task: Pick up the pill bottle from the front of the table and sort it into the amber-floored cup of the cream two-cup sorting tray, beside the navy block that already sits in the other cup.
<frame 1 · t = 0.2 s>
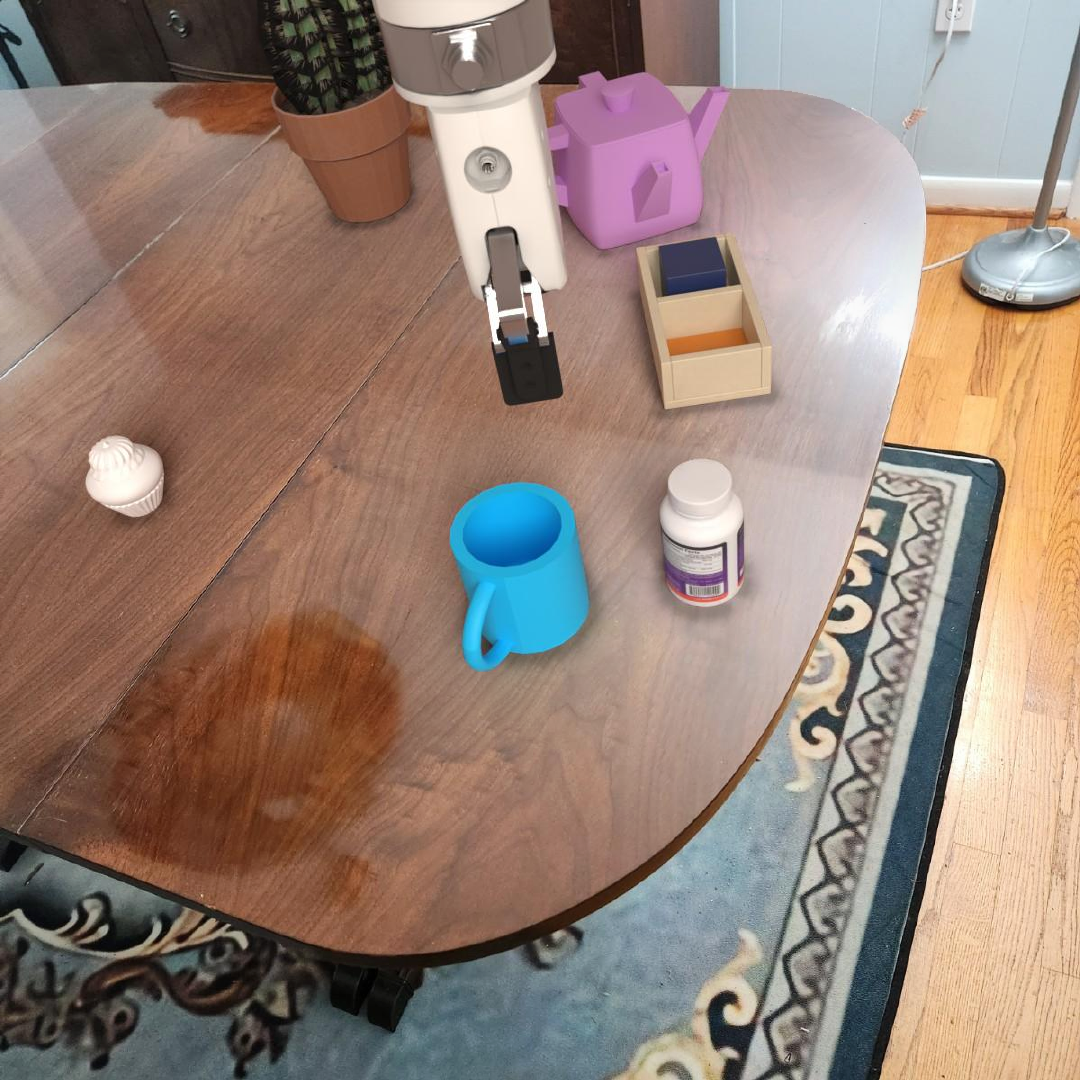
hand: (529, 343, 57), 20 cm above the table, tool pointing down, fingers open, 9 cm apart
sorter: (701, 340, 87), on the table
potted plant: (372, 203, 111), on the table
muffin: (144, 505, 84), on the table
mug: (520, 628, 69), on the table
navy block: (693, 305, 89), point 1 cm above the table, touching sorter
teakettle: (635, 208, 102), on the table
pill bottle: (704, 580, 70), on the table
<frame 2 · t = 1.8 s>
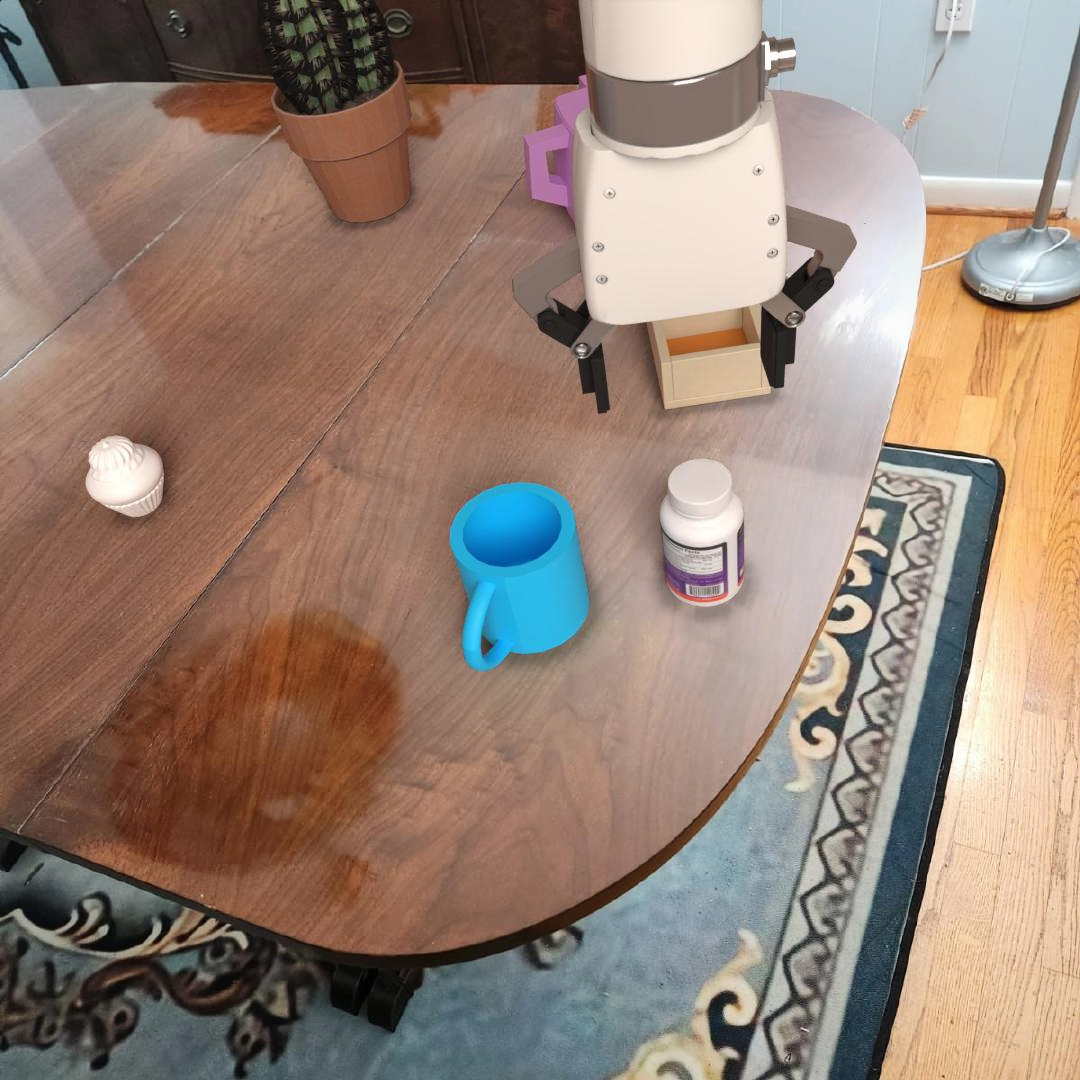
hand: (686, 385, 57), 17 cm above the table, tool pointing down, fingers open, 9 cm apart
nothing on the table moved.
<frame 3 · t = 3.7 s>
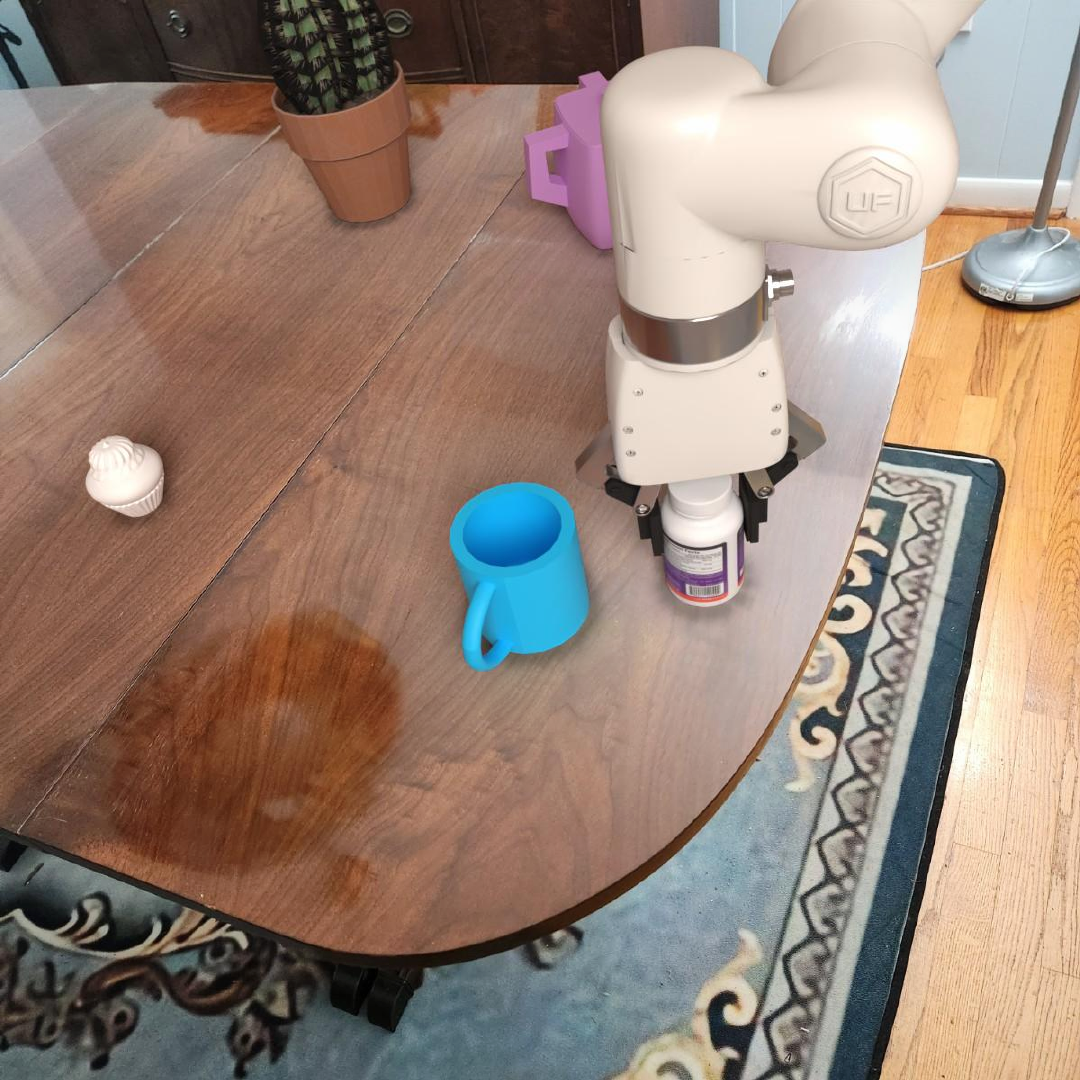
hand: (702, 531, 66), 5 cm above the table, tool pointing down, fingers closed on pill bottle, 5 cm apart
pill bottle: (704, 580, 70), on the table, touching gripper
everything else where it was.
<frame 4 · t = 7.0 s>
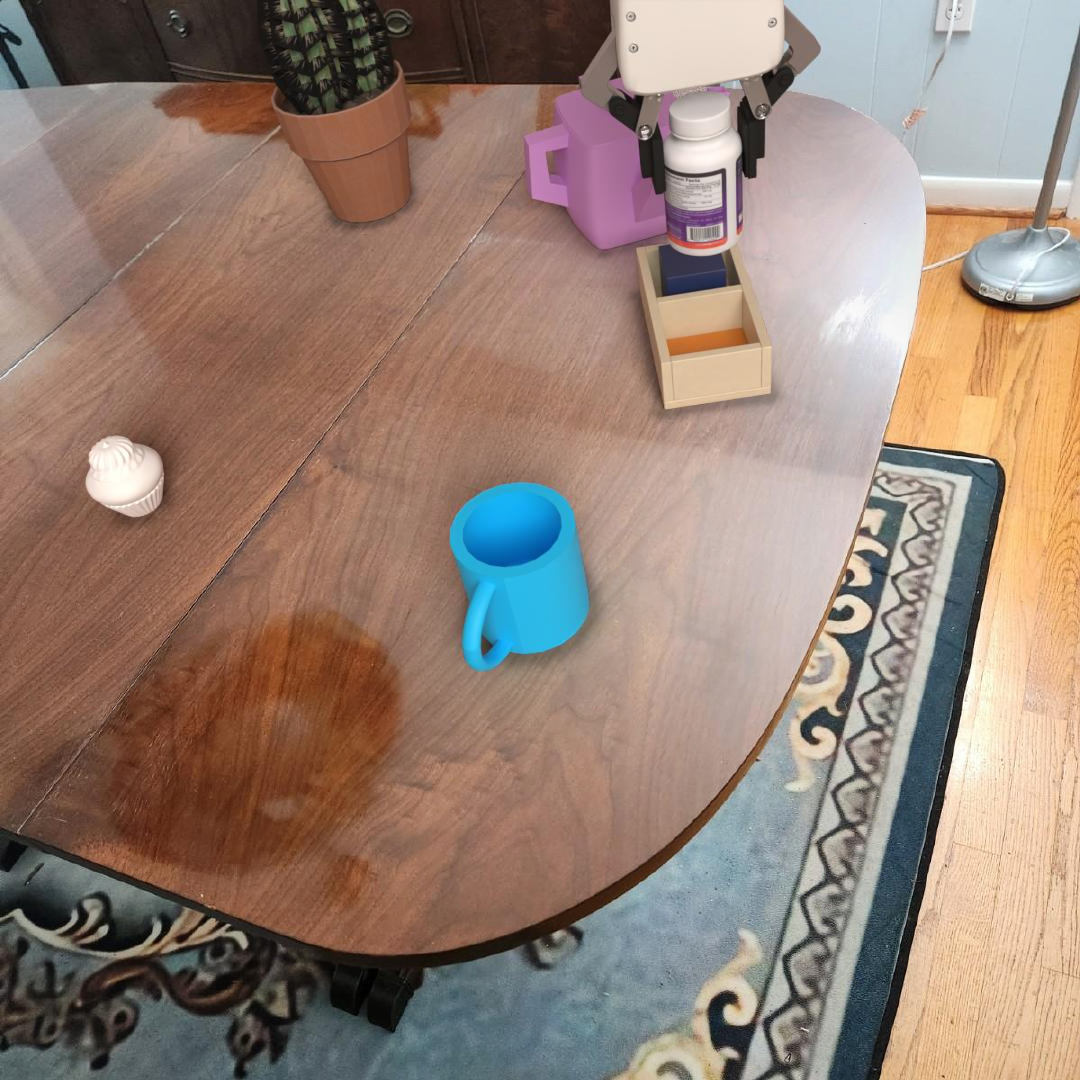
hand: (702, 174, 69), 19 cm above the table, tool pointing down, fingers closed on pill bottle, 5 cm apart
pill bottle: (704, 239, 72), point 14 cm above the table, touching gripper
everything else where it was.
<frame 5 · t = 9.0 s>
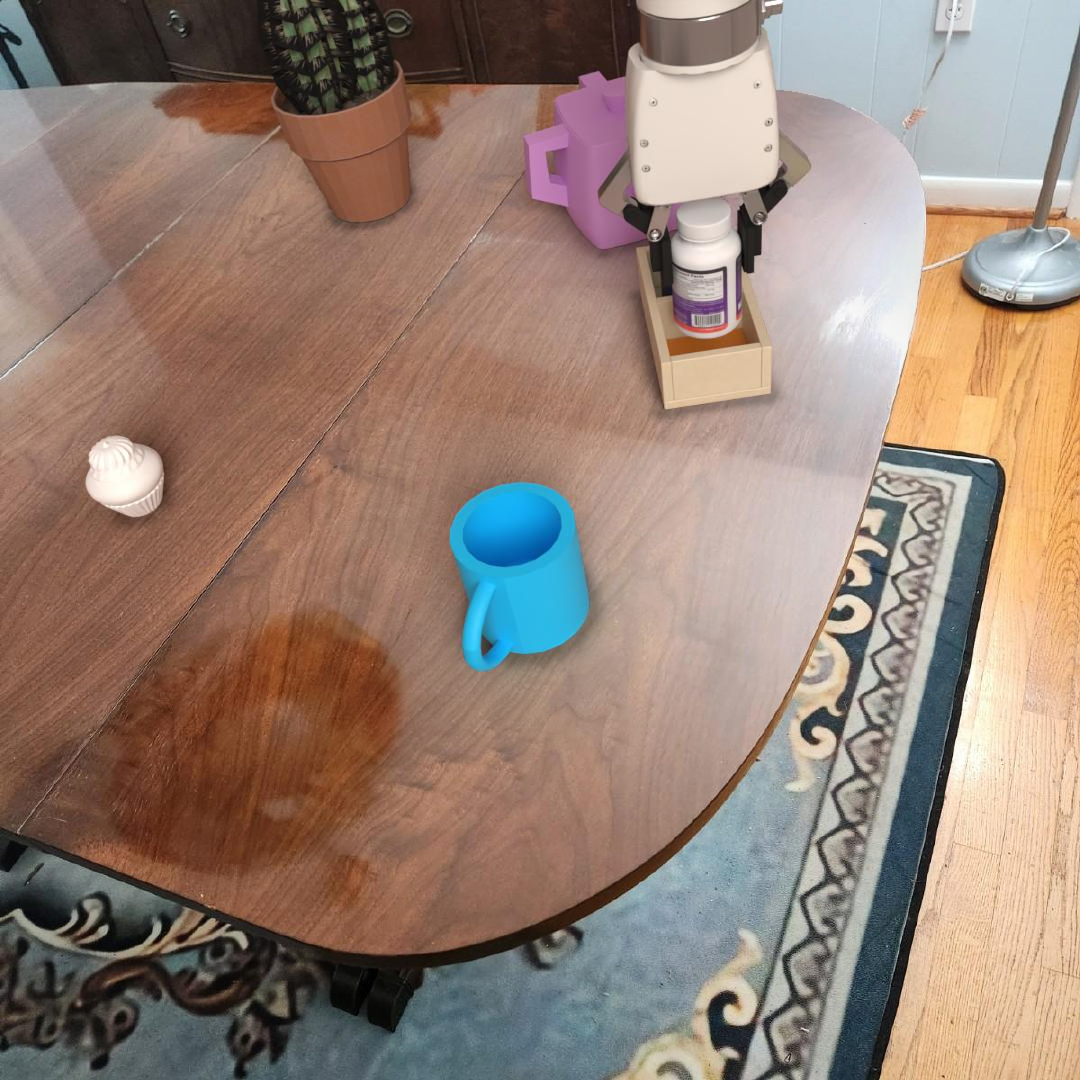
hand: (705, 267, 77), 10 cm above the table, tool pointing down, fingers closed on pill bottle, 5 cm apart
pill bottle: (707, 322, 80), point 5 cm above the table, touching gripper
everything else where it was.
when the fingers open (6 cm above the table, at t = 10.5 s): pill bottle stays where it is, resting on sorter.
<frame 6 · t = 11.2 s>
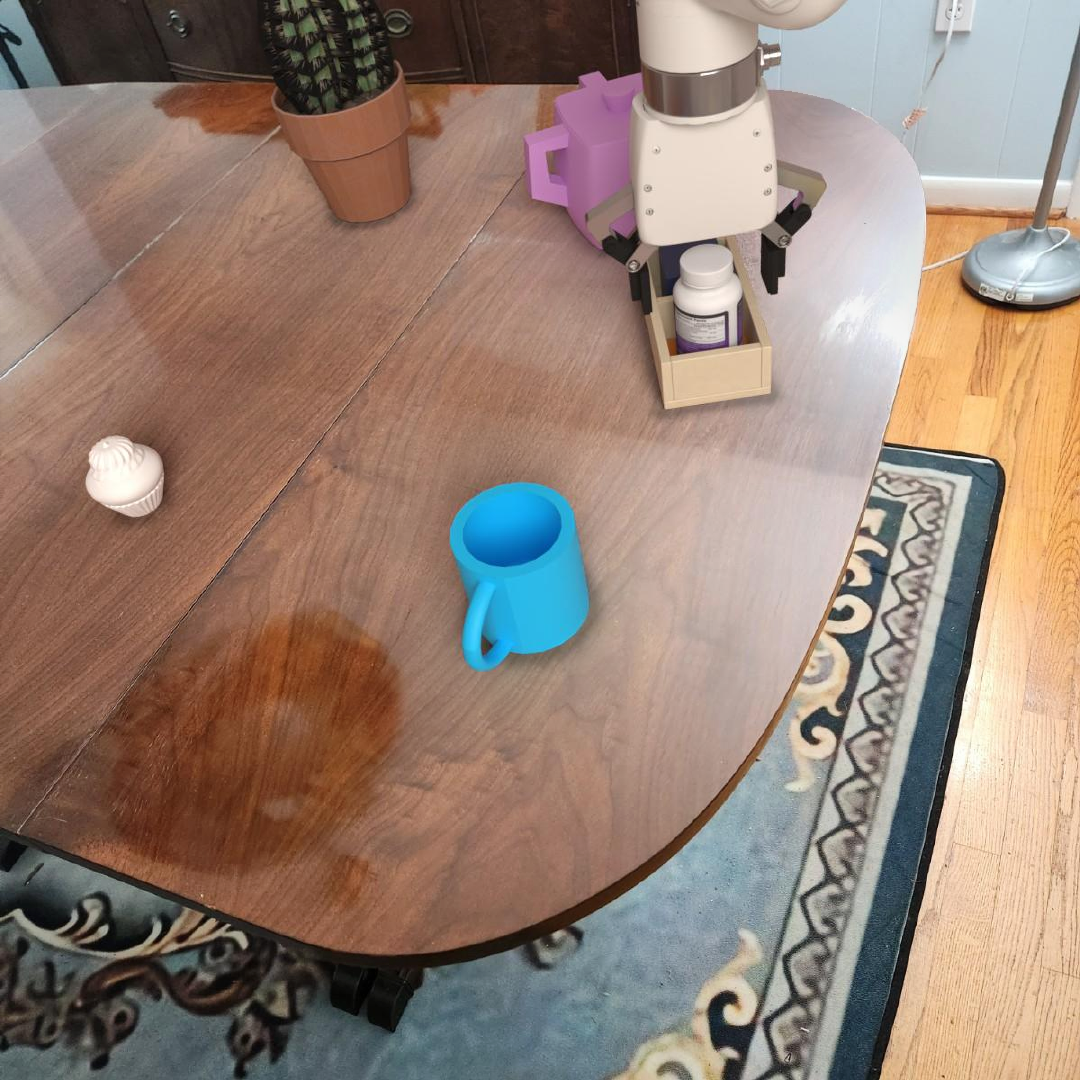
hand: (707, 294, 79), 7 cm above the table, tool pointing down, fingers open, 9 cm apart
pill bottle: (709, 361, 83), point 1 cm above the table, touching sorter
everything else where it was.
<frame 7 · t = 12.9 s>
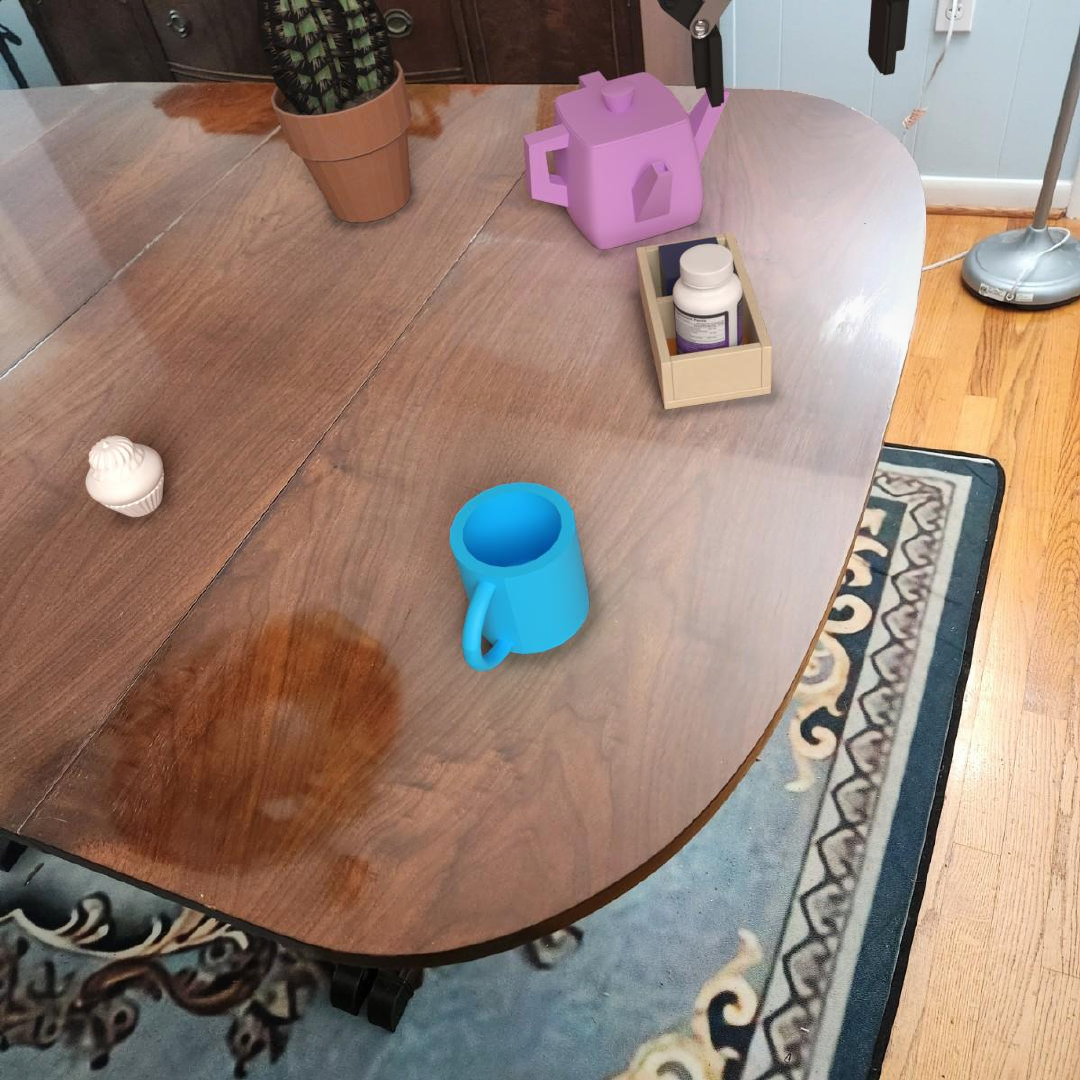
hand: (796, 81, 59), 27 cm above the table, tool pointing down, fingers open, 9 cm apart
nothing on the table moved.
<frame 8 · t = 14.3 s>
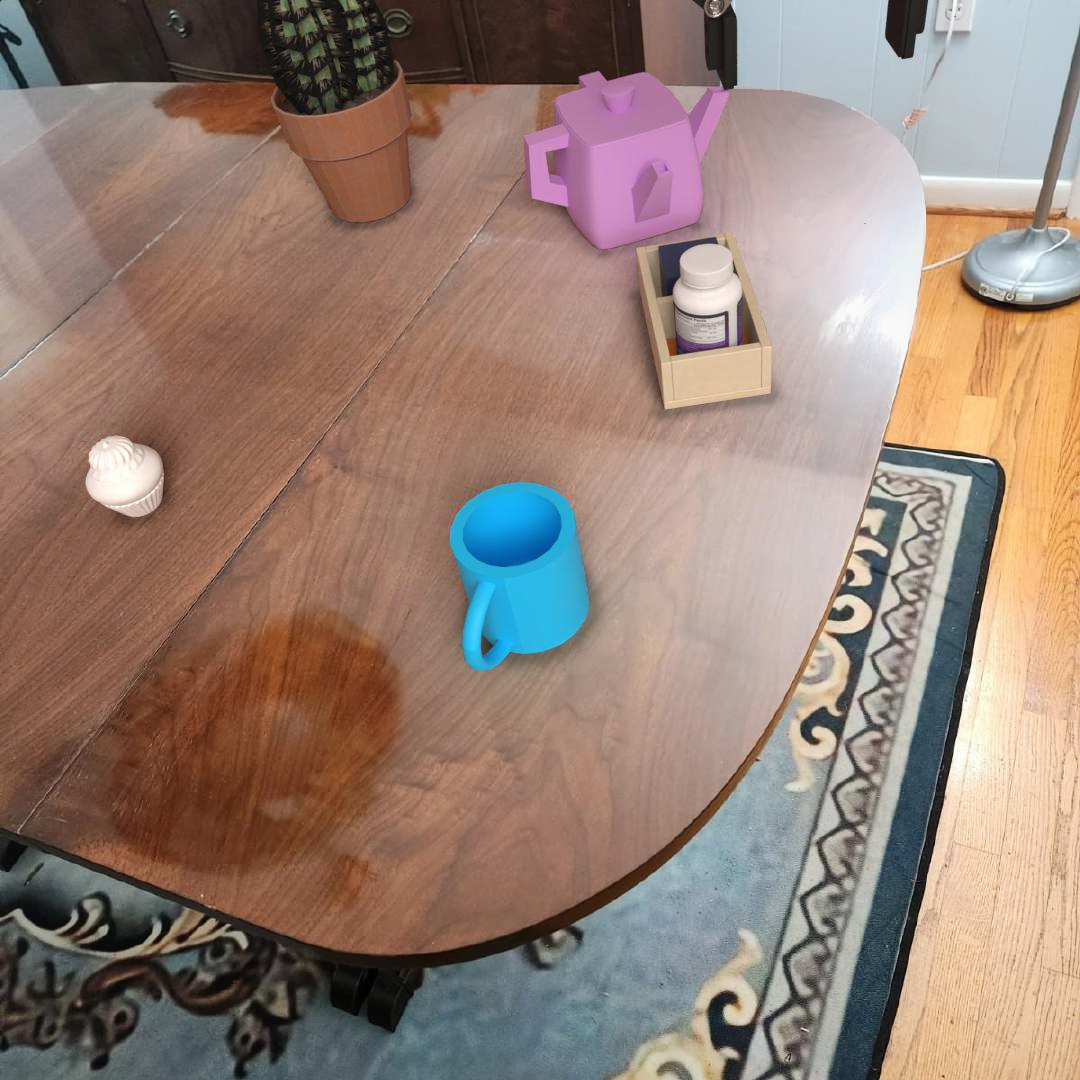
hand: (811, 64, 57), 28 cm above the table, tool pointing down, fingers open, 9 cm apart
nothing on the table moved.
at the end: pill bottle 0.1 cm from the target spot in the sorter, point 0.8 cm above the sorter's base; pill bottle tilted 0°; navy block moved 0.1 cm from its start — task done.
